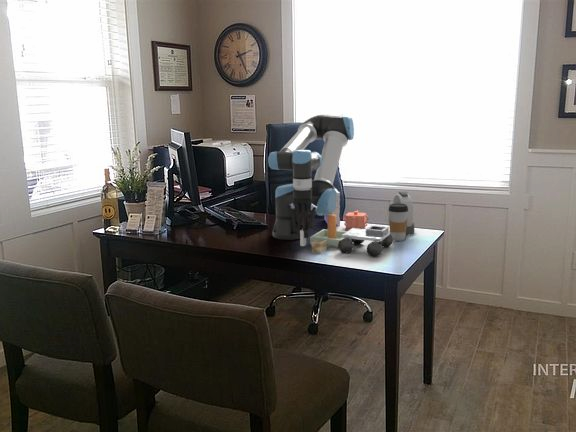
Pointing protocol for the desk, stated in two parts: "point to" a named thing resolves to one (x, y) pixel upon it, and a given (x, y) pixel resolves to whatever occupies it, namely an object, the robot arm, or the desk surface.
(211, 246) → the desk surface
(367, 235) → the trolley
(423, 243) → the desk surface
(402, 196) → the grey rounded piece
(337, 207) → the candy box
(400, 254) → the desk surface
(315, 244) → the chock
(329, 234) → the pin
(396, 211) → the coffee cup
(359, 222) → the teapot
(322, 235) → the tray
